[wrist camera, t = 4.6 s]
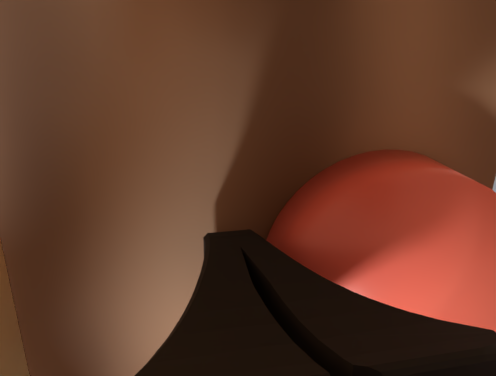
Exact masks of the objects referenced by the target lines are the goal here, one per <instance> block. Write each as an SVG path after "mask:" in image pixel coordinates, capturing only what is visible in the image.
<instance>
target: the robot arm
mask: <svg viewBox="0 0 496 376" xmlns="http://www.w3.org/2000/svg"><path fill="white" fill-rule="evenodd" d="M203 243H204V260H203V265H202V269H201V273H200V276H199V278H198V281H197V284H196V287H195V289H194V292H193V294H192V296H191V299H190V301H189V303H188V305H187V307H186V309H185V311H184V313H183V314H182V316H181V318H180V319H179V321H178V322H177V324H176V326H175V327H174V329H173V330H172V332H171V333H170V335H169V336H168V338H167V339H166V340H165V342H164V343H163V344H162V345H161V347H160V348H159V349H158V350H157V351H156V353H155V354H154V355H153V356H152V358H151V359H150V360H149V361H148V362H147V363H146V364H145V366H144V367H143V368H142V369H141V370H140V371H139V372H138V373H137V374H136V375H134V376H496V332H495V331H493V330H490V329H485V328H479V327H474V326H469V325H464V324H459V323H453V322H448V321H443V320H439V319H435V318H431V317H427V316H424V315H420V314H416V313H412V312H409V311H405V310H402V309H399V308H396V307H393V306H390V305H387V304H384V303H381V302H378V301H376V300H373V299H370V298H367V297H365V296H362V295H360V294H358V293H355V292H353V291H351V290H349V289H346V288H344V287H342V286H340V285H338V284H336V283H334V282H332V281H330V280H328V279H326V278H324V277H322V276H320V275H319V274H317V273H315V272H313V271H312V270H310V269H308V268H306V267H305V266H303V265H302V264H300V263H298V262H297V261H295V260H294V259H292V258H291V257H289V256H288V255H286V254H285V253H283V252H282V251H280V250H279V249H278V248H276V247H275V246H273V245H272V244H271V243H269V242H268V241H266V240H265V239H264V238H262V237H261V236H260V235H258V234H257V233H255V232H254V231H252V230H251V229H248V230H237V231H225V232H214V233H207V234H206V235H205V236H204V237H203Z"/></svg>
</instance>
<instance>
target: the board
mask: <svg viewBox="0 0 496 376" xmlns="http://www.w3.org/2000/svg"><path fill="white" fill-rule="evenodd" d="M384 149H389V150H405V151H411V152H415V153H418V154H422V155H425V156H427V157H429V158H431V159H433V160H435V161H437V162H439V163H441V164H443V165H445V166H447V167H449V168H451V169H453V170H455V171H457V172H459V173H461V174H463V175H465V176H467V177H469V178H471V179H473V180H475V181H477V182H478V183H480V184H482V185H484V186H486V187H488V188H490V189H493V185H494V181H495V177H496V0H0V238H1V243H2V248H3V252H4V257H5V262H6V266H7V271H8V276H9V280H10V285H11V290H12V294H13V299H14V304H15V309H16V313H17V318H18V323H19V327H20V332H21V337H22V341H23V346H24V351H25V355H26V360H27V365H28V370H29V374H30V376H134V375H136V374H137V373H138V372H139V371H140V370H141V369H142V368H143V367H144V366H145V364H146V363H147V362H148V361H149V360H150V359H151V358H152V356H153V355H154V354H155V353H156V351H157V350H158V349H159V348H160V347H161V345H162V344H163V343H164V342H165V340H166V339H167V338H168V336H169V335H170V333H171V332H172V330H173V329H174V327H175V326H176V324H177V322H178V321H179V319H180V318H181V316H182V314H183V313H184V311H185V309H186V307H187V305H188V303H189V301H190V299H191V296H192V294H193V292H194V289H195V287H196V284H197V281H198V278H199V276H200V273H201V269H202V265H203V260H204V243H203V237H204V236H205V235H206V234H207V233H214V232H225V231H237V230H248V229H251V230H252V231H254V232H255V233H257V234H258V235H260V236H261V237H262V238H264V239H265V240H266V239H267V237H268V234H269V231H270V229H271V227H272V225H273V223H274V222H275V220H276V218H277V216H278V214H279V213H280V212H281V210H282V209H283V207H284V206H285V204H286V203H287V202H288V201H289V200H290V198H291V197H292V196H293V195H294V194H295V193H296V192H297V191H298V190H299V189H300V188H301V187H302V186H303V185H304V184H305V183H306V182H308V181H309V180H310V179H311V178H313V177H314V176H315V175H317V174H318V173H320V172H321V171H323V170H324V169H326V168H328V167H329V166H331V165H333V164H335V163H337V162H339V161H341V160H344V159H346V158H349V157H351V156H354V155H357V154H361V153H365V152H369V151H376V150H384Z"/></svg>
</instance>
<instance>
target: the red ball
mask: <svg viewBox="0 0 496 376" xmlns="http://www.w3.org/2000/svg"><path fill="white" fill-rule="evenodd" d="M266 241H268V242H269V243H271V244H272V245H273V246H275V247H276V248H278V249H279V250H280V251H282V252H283V253H285V254H286V255H288V256H289V257H291V258H292V259H294V260H295V261H297V262H298V263H300V264H302V265H303V266H305V267H306V268H308V269H310V270H312V271H313V272H315V273H317V274H319V275H320V276H322V277H324V278H326V279H328V280H330V281H332V282H334V283H336V284H338V285H340V286H342V287H344V288H346V289H349V290H351V291H353V292H355V293H358V294H360V295H362V296H365V297H367V298H370V299H373V300H376V301H378V302H381V303H384V304H387V305H390V306H393V307H396V308H399V309H402V310H405V311H409V312H412V313H416V314H420V315H424V316H427V317H431V318H435V319H439V320H443V321H448V322H453V323H459V324H464V325H469V326H474V327H479V328H485V329H490V330H493V331H495V332H496V192H494V191H493V190H492V189H490V188H488V187H486V186H484V185H482V184H480V183H478V182H477V181H475V180H473V179H471V178H469V177H467V176H465V175H463V174H461V173H459V172H457V171H455V170H453V169H451V168H449V167H447V166H445V165H443V164H441V163H439V162H437V161H435V160H433V159H431V158H429V157H427V156H425V155H422V154H418V153H415V152H411V151H405V150H389V149H384V150H376V151H369V152H365V153H361V154H357V155H354V156H351V157H349V158H346V159H344V160H341V161H339V162H337V163H335V164H333V165H331V166H329V167H328V168H326V169H324V170H323V171H321V172H320V173H318V174H317V175H315V176H314V177H313V178H311V179H310V180H309V181H308V182H306V183H305V184H304V185H303V186H302V187H301V188H300V189H299V190H298V191H297V192H296V193H295V194H294V195H293V196H292V197H291V198H290V200H289V201H288V202H287V203H286V204H285V206H284V207H283V209H282V210H281V212H280V213H279V214H278V216H277V218H276V220H275V222H274V223H273V225H272V227H271V229H270V231H269V234H268V237H267V239H266Z"/></svg>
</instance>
